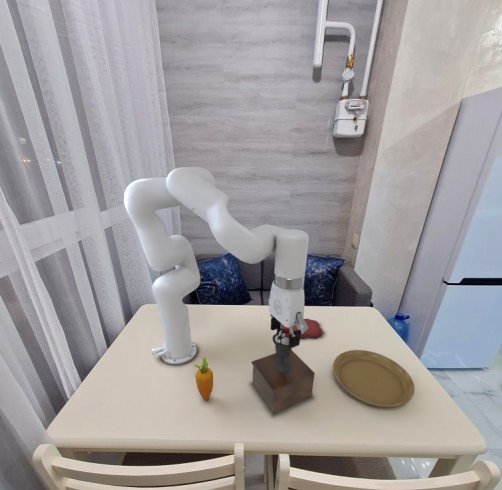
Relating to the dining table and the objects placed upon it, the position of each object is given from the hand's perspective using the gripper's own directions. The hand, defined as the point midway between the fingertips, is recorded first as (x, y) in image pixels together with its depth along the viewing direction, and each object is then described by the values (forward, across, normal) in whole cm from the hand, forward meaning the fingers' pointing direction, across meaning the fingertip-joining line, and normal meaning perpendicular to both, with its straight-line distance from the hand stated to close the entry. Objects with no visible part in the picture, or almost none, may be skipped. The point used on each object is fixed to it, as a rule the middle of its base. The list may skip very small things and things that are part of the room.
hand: (284, 337), depth 73 cm
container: (+20, 0, 0) cm, 20 cm away
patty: (+21, -24, +26) cm, 41 cm away
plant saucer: (+21, +10, +28) cm, 37 cm away
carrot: (+21, -7, -22) cm, 31 cm away
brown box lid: (+12, 0, 0) cm, 12 cm away
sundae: (+11, 0, 0) cm, 11 cm away
